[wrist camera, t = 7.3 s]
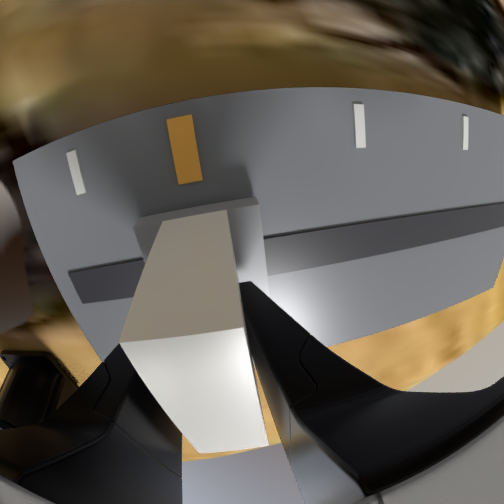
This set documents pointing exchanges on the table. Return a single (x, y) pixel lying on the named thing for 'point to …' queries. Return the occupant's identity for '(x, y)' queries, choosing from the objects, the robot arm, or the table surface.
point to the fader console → (284, 201)
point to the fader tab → (200, 321)
